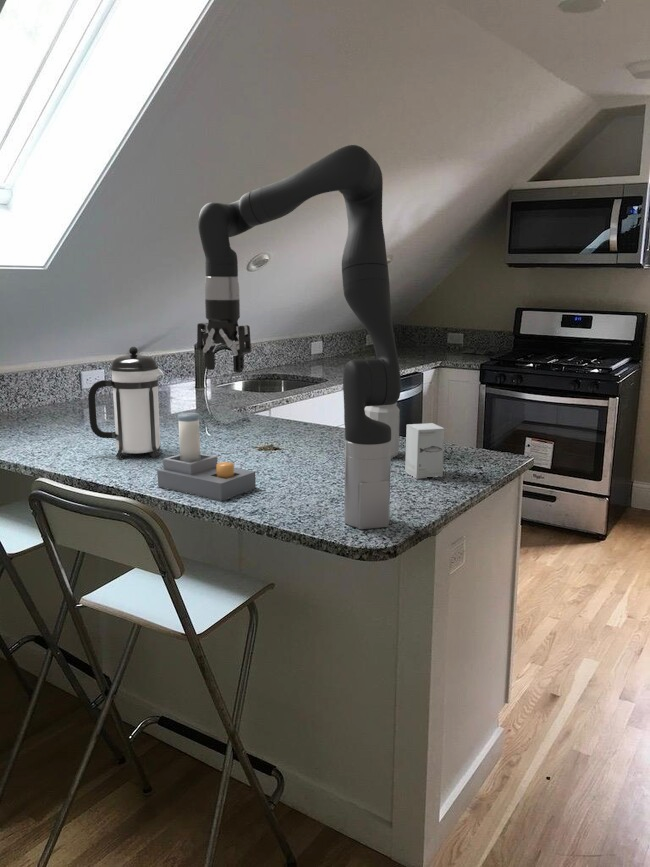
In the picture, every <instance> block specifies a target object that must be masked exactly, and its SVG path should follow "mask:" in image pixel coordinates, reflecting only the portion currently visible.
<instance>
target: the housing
mask: <svg viewBox="0 0 650 867" xmlns="http://www.w3.org/2000/svg"><path fill="white" fill-rule="evenodd" d="M200 459H201V460H199V461H195V462H192V463H189V462H183V461H180V453H178V454H175V455H173V456H168V457H166V458H163V459H162V464H163V465H162V466H163V468H161V469H157V470H156V471H157V472H156V473H157V486H160V488H163V487H164V489H167V488H168V490H171V489H172V491H176V490H177V491H176V492H180V491H182V492H181V493H185V492H187V493H186V494H189V493H191V494H190V495H193V494H195V495H194V496H198V495H199V496H198V497H202V496H204V497H203V498H207V497H208V499H211V498H212V499H211V500H217V501H220V502H222V500H223V501H225V500H227V499H230V498H233V497H236V496H239V495H242V494H244V493H247V492H250V491H252V490H254V489H256V487H257V486H256V485H257V484H256V483H257V482H256V471H253V470H248V469H245V468H238V467H234V477H231V478H228V479H224V478H219V477H217V468H216V464H218V456H217V455H211V454H205V453H201V452H200Z"/></svg>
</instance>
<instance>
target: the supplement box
mask: <svg viewBox="0 0 650 867" xmlns="http://www.w3.org/2000/svg"><path fill="white" fill-rule="evenodd" d="M405 434H406V436H405V438H406V439H405V440H406V441H405V464H404V466H405V467H404V468H405V469H404V470H405V471H404V472H405V473H406V474H407V475H409V476H410V475H411V476H410V477H412V476H413V477H412V478H413V479H415V478H416V479H415V480H419V479H428V478H427V477H433V478H436V477H435V476H442V477H444V476H443V473H444V454H445V453H444V451H445V450H444V448H445V427H442V426H440V425H438V424H436V423H433V422H429V423H412V424H411V423H409V424H406V433H405Z"/></svg>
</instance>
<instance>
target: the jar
mask: <svg viewBox="0 0 650 867" xmlns="http://www.w3.org/2000/svg"><path fill="white" fill-rule="evenodd" d="M364 408H365V414H366V416H368V417H369V418H371V419H373V420H376V421H380V422H383V423H386V424H388V425H389V426H390V427H391V458H392V459H394V458H396V457H397V456H398V454H399V447H400V446H399V445H400V444H399V443H400V411H401V410H400V408H399V407H398V401H397V402H396V403H395V404H393V405H382V406H364ZM395 456H396V457H395ZM393 457H394V458H393Z"/></svg>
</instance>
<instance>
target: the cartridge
mask: <svg viewBox="0 0 650 867" xmlns="http://www.w3.org/2000/svg"><path fill="white" fill-rule="evenodd" d="M177 421H178V441H179V442H178V443H179V454H180V461H183V462H189V463H192V462H195V461H199V460H201V459H200V453H201V439H200V436H201V435H200V413H198V412H181V413H178V414H177Z"/></svg>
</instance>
